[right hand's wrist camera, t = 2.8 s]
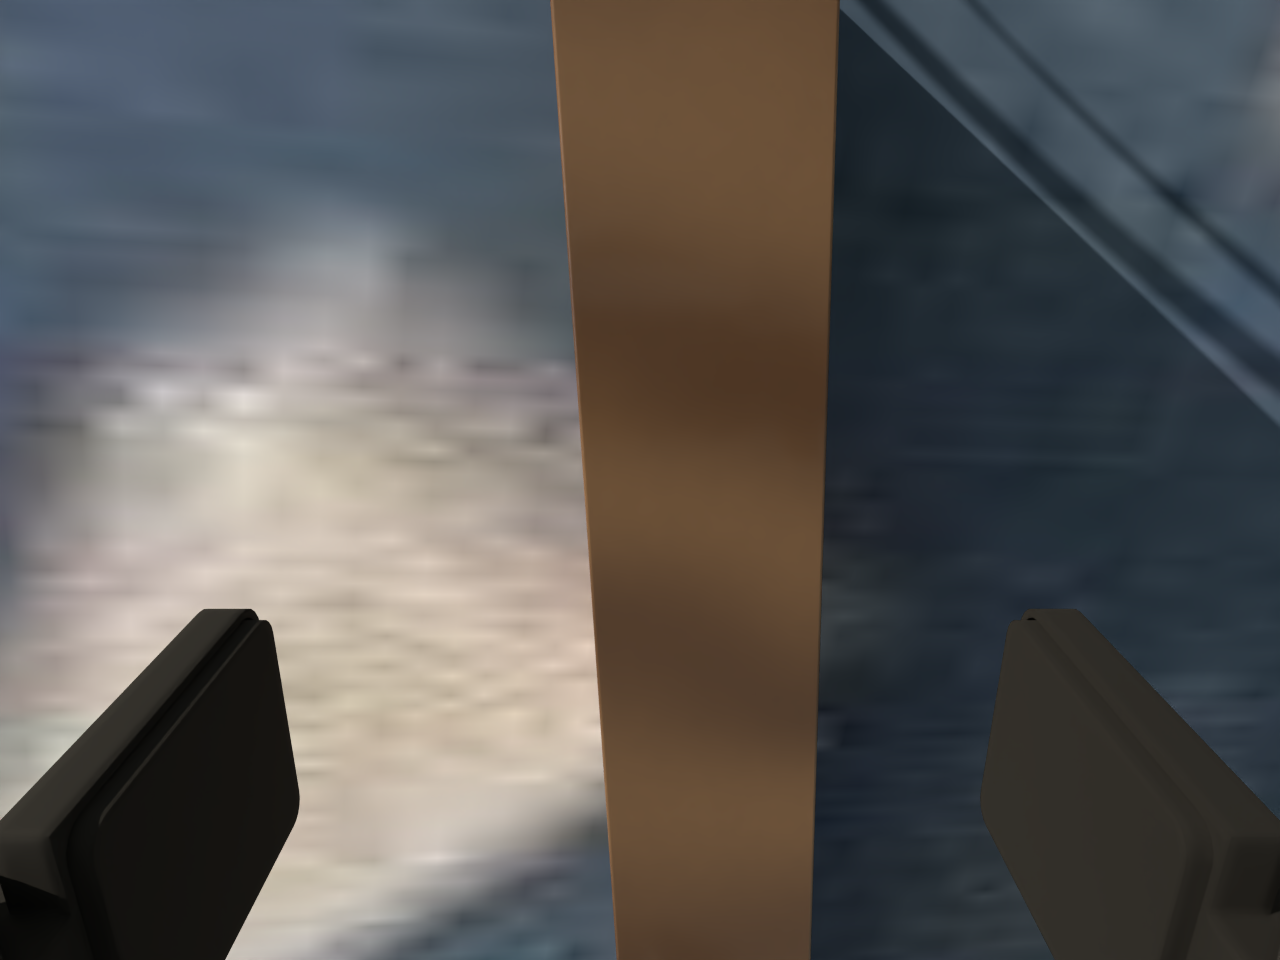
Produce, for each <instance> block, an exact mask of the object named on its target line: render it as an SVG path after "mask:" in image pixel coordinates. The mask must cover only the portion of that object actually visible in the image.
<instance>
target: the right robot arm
mask: <svg viewBox="0 0 1280 960" xmlns="http://www.w3.org/2000/svg"><path fill="white" fill-rule="evenodd" d="M299 801H300V796H299V787H298V781H297V775H296V769H295V763H294V757H293V751H292V745H291V739H290V733H289V726H288V720H287V714H286V708H285V702H284V696H283V690H282V684H281V678H280V672H279V665H278V659H277V653H276V647H275V641H274V635H273V630H272V627H271V625H270V623H269V622H268V621H267V620H259V618H258V616H257V614H256V613H255V612H254V611H253V610H252V609H204V610H202V611H201V612H199V613H198V614H197V615H196V616H195V617H194V618H193V619H192V620H191V621H190V623H189V624H188V625H187V626H186V627H185V628H184V629H183V630H182V631H181V632H180V633H179V634H178V635H177V636H176V637H175V638H174V639H173V640H172V641H171V642H170V643H169V645H168V646H167V647H166V648H165V649H164V650H163V651H162V652H161V653H160V654H159V655H158V656H157V657H156V658H155V659H154V660H153V661H152V662H151V663H150V664H149V665H148V667H147V668H146V669H145V670H144V671H143V672H142V673H141V674H140V675H139V676H138V677H137V678H136V679H135V680H134V681H133V682H132V683H131V684H130V685H129V686H128V687H127V688H126V690H125V691H124V692H123V693H122V694H121V695H120V696H119V697H118V698H117V699H116V700H115V701H114V702H113V703H112V704H111V705H110V706H109V707H108V708H107V709H106V710H105V712H104V713H103V714H102V715H101V716H100V717H99V718H98V719H97V720H96V721H95V722H94V723H93V724H92V725H91V726H90V727H89V728H88V729H87V730H86V731H85V732H84V733H83V735H82V736H81V737H80V738H79V739H78V740H77V741H76V742H75V743H74V744H73V745H72V746H71V747H70V748H69V749H68V750H67V751H66V752H65V753H64V754H63V755H62V757H61V758H60V759H59V760H58V761H57V762H56V763H55V764H54V765H53V766H52V767H51V768H50V769H49V770H48V771H47V772H46V773H45V774H44V775H43V776H42V777H41V779H40V780H39V781H38V782H37V783H36V784H35V785H34V786H33V787H32V788H31V789H30V790H29V791H28V792H27V793H26V794H25V795H24V796H23V797H22V798H21V799H20V800H19V802H18V803H17V804H16V805H15V806H14V807H13V808H12V809H11V810H10V811H9V812H8V813H7V814H6V815H5V816H4V817H3V818H2V819H1V820H0V960H225V959H226V957H227V955H228V953H229V951H230V949H231V947H232V945H233V943H234V941H235V939H236V938H237V936H238V934H239V932H240V930H241V928H242V926H243V924H244V922H245V920H246V918H247V916H248V914H249V912H250V910H251V908H252V906H253V904H254V902H255V900H256V899H257V897H258V895H259V893H260V891H261V889H262V887H263V885H264V883H265V881H266V879H267V877H268V875H269V873H270V871H271V869H272V867H273V865H274V863H275V861H276V860H277V858H278V856H279V854H280V852H281V850H282V848H283V846H284V844H285V842H286V840H287V838H288V836H289V834H290V832H291V830H292V828H293V826H294V824H295V822H296V819H297V815H298V810H299ZM980 801H981V810H982V815H983V819H984V822H985V824H986V826H987V828H988V830H989V832H990V834H991V836H992V838H993V840H994V842H995V844H996V846H997V848H998V850H999V852H1000V854H1001V856H1002V858H1003V860H1004V861H1005V863H1006V865H1007V867H1008V869H1009V871H1010V873H1011V875H1012V877H1013V879H1014V881H1015V883H1016V885H1017V887H1018V889H1019V891H1020V893H1021V895H1022V897H1023V899H1024V900H1025V902H1026V904H1027V906H1028V908H1029V910H1030V912H1031V914H1032V916H1033V918H1034V920H1035V922H1036V924H1037V926H1038V928H1039V930H1040V932H1041V934H1042V936H1043V938H1044V939H1045V941H1046V943H1047V945H1048V947H1049V949H1050V951H1051V953H1052V955H1053V957H1054V959H1055V960H1280V820H1279V819H1278V818H1277V817H1276V816H1275V815H1274V814H1273V813H1272V812H1271V811H1270V810H1269V809H1268V808H1267V807H1266V806H1265V805H1264V804H1263V803H1262V802H1261V800H1260V799H1259V798H1258V797H1257V796H1256V795H1255V794H1254V793H1253V792H1252V791H1251V790H1250V789H1249V788H1248V787H1247V786H1246V785H1245V784H1244V783H1243V782H1242V781H1241V780H1240V779H1239V777H1238V776H1237V775H1236V774H1235V773H1234V772H1233V771H1232V770H1231V769H1230V768H1229V767H1228V766H1227V765H1226V764H1225V763H1224V762H1223V761H1222V760H1221V759H1220V758H1219V757H1218V755H1217V754H1216V753H1215V752H1214V751H1213V750H1212V749H1211V748H1210V747H1209V746H1208V745H1207V744H1206V743H1205V742H1204V741H1203V740H1202V739H1201V738H1200V737H1199V736H1198V735H1197V733H1196V732H1195V731H1194V730H1193V729H1192V728H1191V727H1190V726H1189V725H1188V724H1187V723H1186V722H1185V721H1184V720H1183V719H1182V718H1181V717H1180V716H1179V715H1178V714H1177V713H1176V712H1175V710H1174V709H1173V708H1172V707H1171V706H1170V705H1169V704H1168V703H1167V702H1166V701H1165V700H1164V699H1163V698H1162V697H1161V696H1160V695H1159V694H1158V693H1157V692H1156V691H1155V690H1154V688H1153V687H1152V686H1151V685H1150V684H1149V683H1148V682H1147V681H1146V680H1145V679H1144V678H1143V677H1142V676H1141V675H1140V674H1139V673H1138V672H1137V671H1136V670H1135V669H1134V668H1133V667H1132V665H1131V664H1130V663H1129V662H1128V661H1127V660H1126V659H1125V658H1124V657H1123V656H1122V655H1121V654H1120V653H1119V652H1118V651H1117V650H1116V649H1115V648H1114V647H1113V646H1112V645H1111V643H1110V642H1109V641H1108V640H1107V639H1106V638H1105V637H1104V636H1103V635H1102V634H1101V633H1100V632H1099V631H1098V630H1097V629H1096V628H1095V627H1094V626H1093V625H1092V624H1091V623H1090V621H1089V620H1088V619H1087V618H1086V617H1085V616H1084V615H1083V614H1082V613H1081V612H1079V611H1078V610H1076V609H1028V610H1027V611H1026V612H1025V613H1024V614H1023V616H1022V618H1021V620H1013V621H1012V622H1011V623H1010V625H1009V627H1008V630H1007V635H1006V641H1005V647H1004V653H1003V659H1002V666H1001V672H1000V678H999V684H998V690H997V696H996V702H995V708H994V714H993V720H992V726H991V733H990V739H989V745H988V751H987V757H986V763H985V769H984V775H983V781H982V787H981V796H980Z"/></svg>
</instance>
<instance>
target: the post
mask: <svg viewBox="0 0 1280 960" xmlns="http://www.w3.org/2000/svg"><path fill="white" fill-rule="evenodd" d="M550 2H551V17H552V31H553V46H554V60H555V75H556V89H557V103H558V118H559V132H560V147H561V161H562V176H563V190H564V204H565V219H566V233H567V248H568V262H569V277H570V291H571V305H572V320H573V334H574V349H575V363H576V377H577V392H578V406H579V421H580V435H581V450H582V464H583V478H584V493H585V507H586V522H587V536H588V551H589V565H590V579H591V594H592V608H593V623H594V637H595V652H596V666H597V680H598V695H599V709H600V724H601V738H602V753H603V767H604V781H605V796H606V810H607V825H608V839H609V854H610V868H611V882H612V897H613V911H614V926H615V940H616V954H617V960H811V927H812V895H813V862H814V829H815V797H816V764H817V731H818V698H819V666H820V633H821V600H822V567H823V535H824V502H825V469H826V437H827V404H828V371H829V338H830V306H831V273H832V240H833V208H834V175H835V142H836V109H837V77H838V44H839V11H840V0H550Z"/></svg>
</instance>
